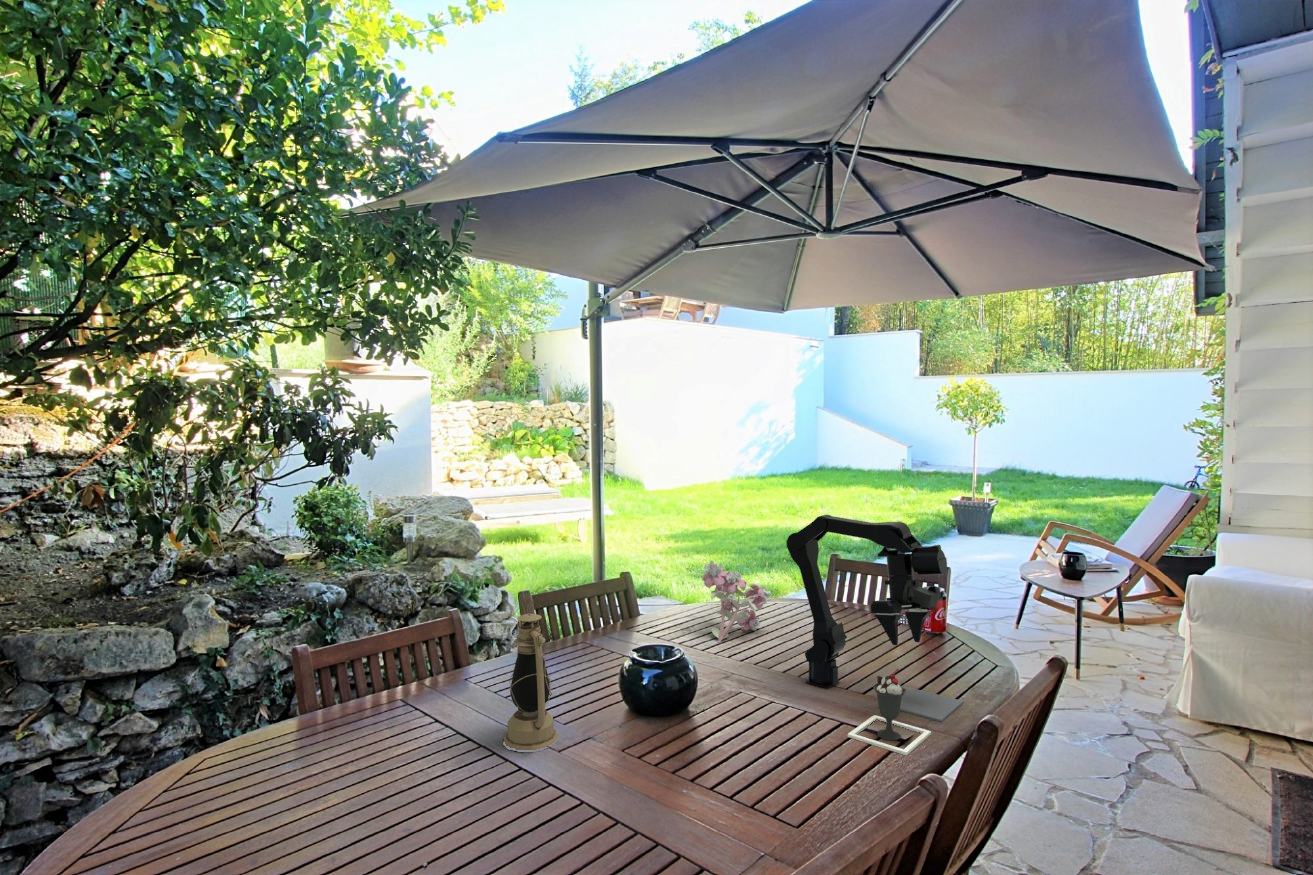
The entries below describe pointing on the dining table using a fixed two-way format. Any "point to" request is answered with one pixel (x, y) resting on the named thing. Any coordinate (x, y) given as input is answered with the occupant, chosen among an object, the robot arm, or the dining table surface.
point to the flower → (727, 586)
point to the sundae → (889, 703)
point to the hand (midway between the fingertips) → (906, 643)
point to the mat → (928, 704)
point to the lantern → (530, 690)
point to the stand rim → (902, 751)
